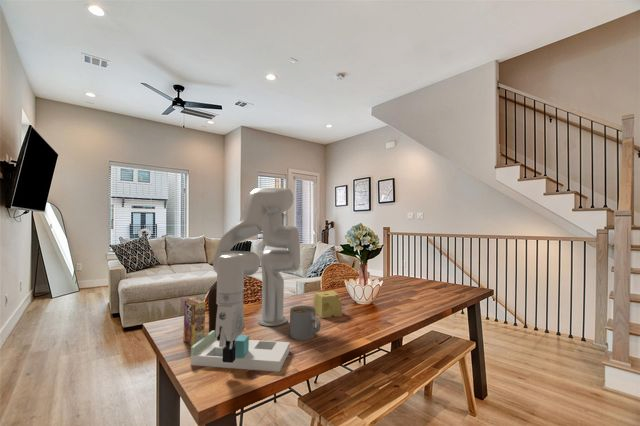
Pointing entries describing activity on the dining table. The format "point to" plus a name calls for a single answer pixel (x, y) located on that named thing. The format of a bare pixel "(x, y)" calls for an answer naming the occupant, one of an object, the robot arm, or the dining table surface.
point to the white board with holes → (257, 358)
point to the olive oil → (212, 307)
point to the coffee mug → (303, 322)
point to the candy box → (194, 320)
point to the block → (242, 346)
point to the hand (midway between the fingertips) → (228, 361)
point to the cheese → (327, 304)
